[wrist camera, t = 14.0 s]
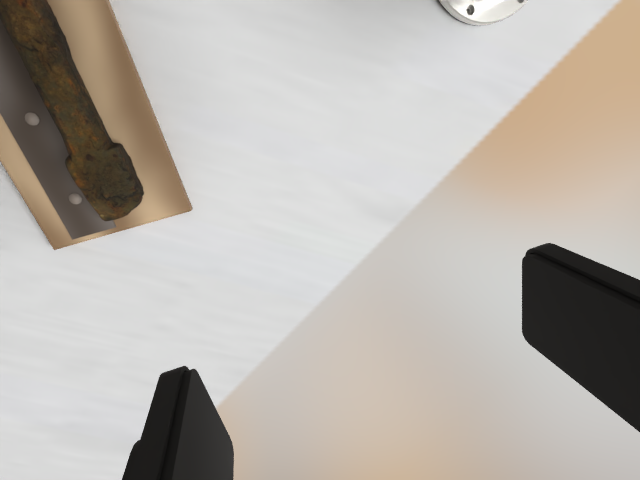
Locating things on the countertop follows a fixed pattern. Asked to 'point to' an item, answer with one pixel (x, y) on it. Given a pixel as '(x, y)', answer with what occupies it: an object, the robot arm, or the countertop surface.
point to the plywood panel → (118, 118)
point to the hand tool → (72, 110)
